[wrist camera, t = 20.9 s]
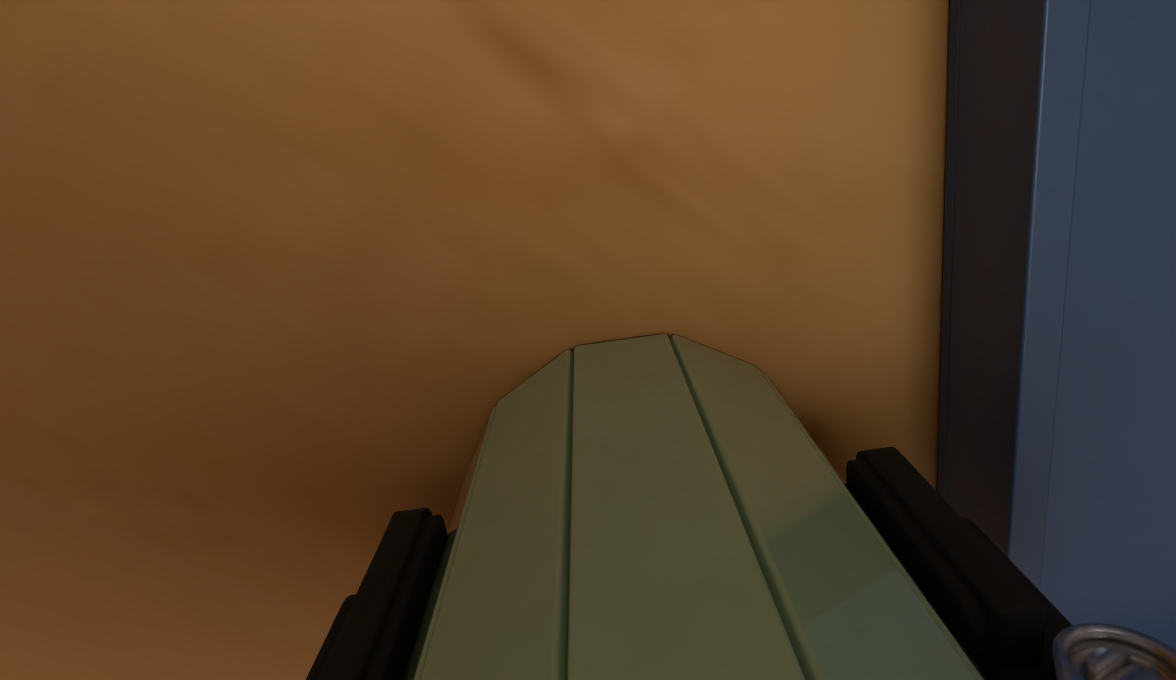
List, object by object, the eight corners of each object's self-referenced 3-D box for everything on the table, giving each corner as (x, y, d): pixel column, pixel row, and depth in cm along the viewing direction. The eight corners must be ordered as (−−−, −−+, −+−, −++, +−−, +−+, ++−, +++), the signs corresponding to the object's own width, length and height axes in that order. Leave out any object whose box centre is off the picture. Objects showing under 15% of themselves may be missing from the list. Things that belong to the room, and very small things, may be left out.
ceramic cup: (502, 657, 14) (406, 1351, 6) (436, 363, 12) (165, 842, 4) (819, 618, 14) (1137, 1285, 6) (807, 312, 12) (1267, 714, 4)
